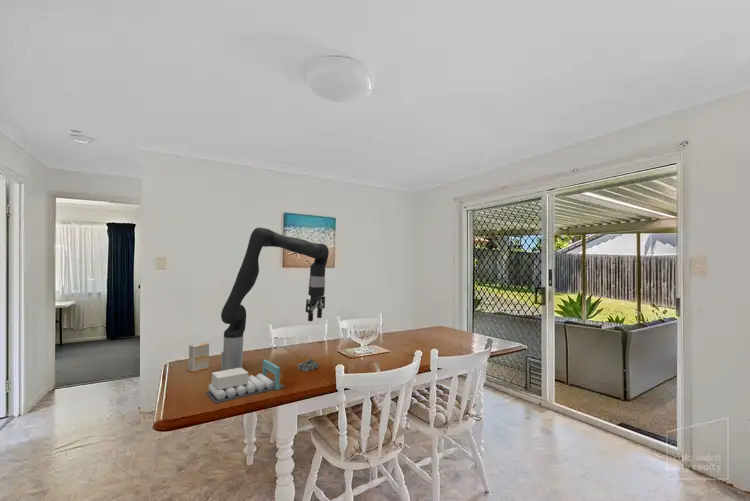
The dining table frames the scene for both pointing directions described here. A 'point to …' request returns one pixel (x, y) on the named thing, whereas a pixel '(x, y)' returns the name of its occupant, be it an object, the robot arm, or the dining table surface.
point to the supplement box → (198, 357)
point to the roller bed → (243, 389)
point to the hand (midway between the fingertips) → (314, 319)
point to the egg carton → (307, 365)
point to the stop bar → (272, 371)
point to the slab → (229, 378)
